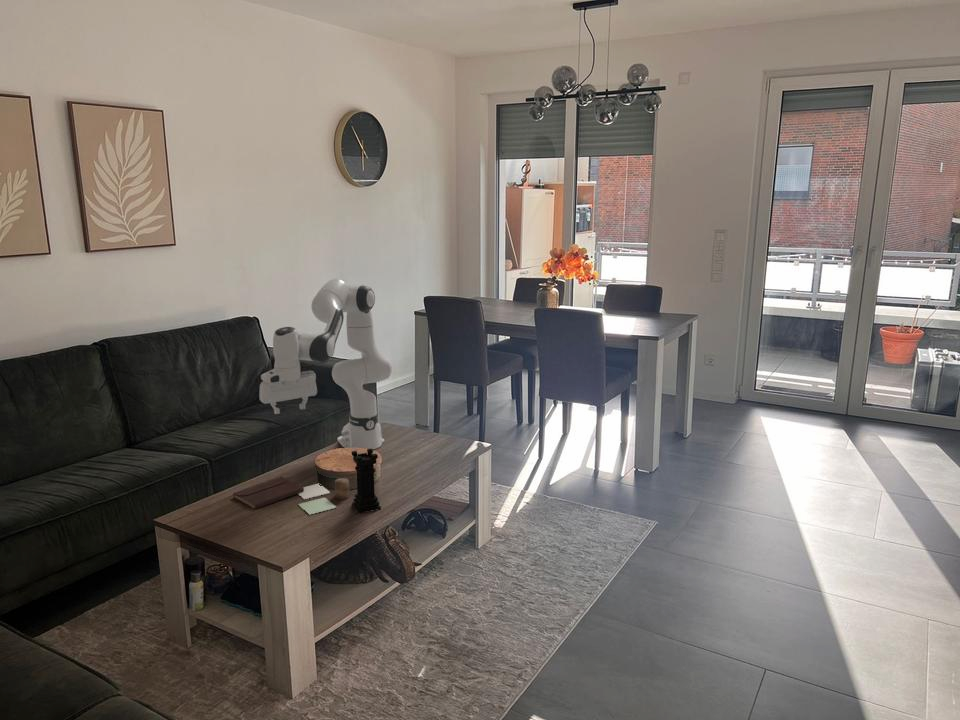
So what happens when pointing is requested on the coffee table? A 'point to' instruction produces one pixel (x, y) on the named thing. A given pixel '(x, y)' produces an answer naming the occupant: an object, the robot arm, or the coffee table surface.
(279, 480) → the notebook
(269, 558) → the coffee table surface
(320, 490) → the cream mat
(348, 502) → the coffee table surface
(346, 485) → the brown cylinder
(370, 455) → the chess piece
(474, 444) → the coffee table surface
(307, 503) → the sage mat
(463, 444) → the coffee table surface
